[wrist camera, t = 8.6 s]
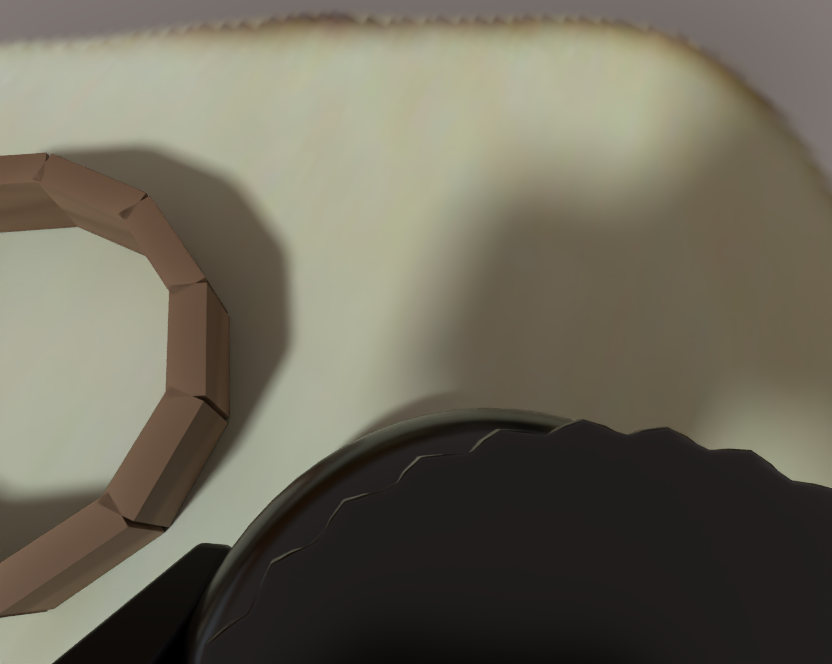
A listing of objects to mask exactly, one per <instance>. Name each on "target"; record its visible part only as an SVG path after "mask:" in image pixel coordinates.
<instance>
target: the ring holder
mask: <svg viewBox="0 0 832 664" xmlns="http://www.w3.org/2000/svg"><path fill="white" fill-rule="evenodd" d="M67 227H80V228H82V229H84V230H87V231H89V232H91V233H94V234H96V235H98V236H101V237H103V238H105V239H107V240H110V241H112V242H114V243H117V244H119V245H121V246H124V247H126V248H128V249H131V250H133V251H135V252H138V253H140V254H142V255H145V256H146V257H147V258H148V260H149V261H150V263H151V264H152V266H153V267H154V269H155V270H156V272H157V273H158V275H159V277H160V278H161V280H162V281H163V283H164V284H165V286H166V287H167V289H168V290H169V313H168V342H167V370H166V392H165V394H164V395H163V397H162V399H161V400H160V402H159V404H158V405H157V407H156V409H155V410H154V412H153V413H152V415H151V417H150V418H149V420H148V422H147V423H146V425H145V426H144V428H143V430H142V431H141V433H140V435H139V436H138V438H137V440H136V441H135V443H134V444H133V446H132V448H131V449H130V451H129V453H128V454H127V456H126V457H125V459H124V461H123V462H122V464H121V466H120V467H119V469H118V471H117V472H116V474H115V475H114V477H113V479H112V480H111V482H110V484H109V485H108V487H107V488H106V490H105V492H104V493H103V495H102V497H100V498H98V499H97V500H95V501H94V502H92V503H91V504H89V505H88V506H86V507H85V508H83V509H82V510H80V511H79V512H77V513H76V514H74V515H73V516H71V517H69V518H68V519H66V520H65V521H63V522H62V523H60V524H59V525H57V526H56V527H54V528H53V529H51V530H50V531H48V532H47V533H45V534H43V535H42V536H40V537H39V538H37V539H36V540H34V541H33V542H31V543H30V544H28V545H27V546H25V547H24V548H22V549H21V550H19V551H17V552H16V553H14V554H13V555H11V556H10V557H8V558H7V559H5V560H4V561H2V562H1V563H0V618H1V617H8V616H16V615H23V614H31V613H39V612H46V611H47V610H48V609H54V608H56V607H57V606H59V605H60V604H61V603H63V602H64V601H66V600H67V599H69V598H70V597H72V596H73V595H75V594H76V593H77V592H79V591H80V590H82V589H83V588H85V587H86V586H88V585H89V584H91V583H92V582H93V581H95V580H96V579H98V578H99V577H101V576H102V575H104V574H105V573H107V572H108V571H109V570H111V569H112V568H114V567H115V566H117V565H118V564H120V563H121V562H122V561H124V560H125V559H127V558H128V557H130V556H131V555H133V554H134V553H136V552H137V551H138V550H140V549H141V548H143V547H144V546H146V545H147V544H149V543H150V542H152V541H153V540H154V539H156V538H157V537H159V536H160V535H162V534H163V533H165V532H164V531H163V529H162V527H161V526H164V527H170V525H171V523H172V522H173V520H174V518H175V516H176V514H177V513H178V511H179V509H180V507H181V506H182V504H183V502H184V500H185V498H186V497H187V495H188V493H189V491H190V489H191V488H192V486H193V484H194V482H195V481H196V479H197V477H198V475H199V473H200V472H201V470H202V468H203V466H204V465H205V463H206V461H207V459H208V457H209V456H210V454H211V452H212V450H213V449H214V447H215V445H216V443H217V441H218V440H219V438H220V436H221V434H222V433H223V431H224V429H225V427H226V425H227V424H228V422H227V421H225V420H224V419H223V418H226V417H229V316H228V315H227V313H228V312H227V311H226V309H225V308H224V306H223V304H222V303H221V301H220V300H219V298H218V297H217V295H216V293H215V292H214V290H213V289H212V287H211V286H210V284H209V282H208V281H207V279H206V278H205V276H204V275H203V273H202V272H201V270H200V269H199V267H198V266H197V264H196V263H195V262H194V260H193V259H192V257H191V256H190V254H189V253H188V251H187V250H186V248H185V247H184V245H183V244H182V242H181V241H180V240H179V238H178V237H177V235H176V234H175V232H174V231H173V229H172V228H171V226H170V225H169V223H168V222H167V220H166V219H165V218H164V216H163V215H162V213H161V212H160V210H159V209H158V207H157V206H156V204H155V203H154V201H153V200H152V198H151V197H150V196H149V197H148V195H147V194H146V193H145V192H143V191H140V190H138V189H135V188H133V187H131V186H128V185H126V184H123V183H121V182H119V181H116V180H114V179H111V178H109V177H107V176H104V175H102V174H99V173H97V172H95V171H92V170H90V169H87V168H85V167H83V166H80V165H78V164H75V163H73V162H71V161H68V160H66V159H63V158H61V157H59V156H56V155H54V154H51V156H50V157H49V155H48V154H47V153H37V154H22V155H6V156H0V232H13V231H26V230H40V229H53V228H67Z"/></svg>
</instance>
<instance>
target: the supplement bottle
mask: <svg viewBox="0 0 832 664" xmlns="http://www.w3.org/2000/svg"><path fill="white" fill-rule="evenodd" d="M173 664H832V488H829V487H825V486H821V485H817V484H813V483H806V482H799V481H792V480H790V479H789V478H788V477H786V476H785V475H783V474H782V473H780V472H779V471H778V470H777V469H776V468H775V467H774V466H773V465H772V464H771V463H769V462H768V461H766V460H765V459H763V458H762V457H761V456H759V455H758V454H756V453H755V452H753V451H752V450H744V449H717V450H709V449H706V448H704V447H702V446H700V445H698V444H696V443H695V442H694V441H692V440H691V439H690V438H688V437H687V436H685V435H683V434H680V433H678V432H676V431H674V430H672V429H670V428H668V427H656V428H650V429H644V430H638V431H635V432H633V433H631V434H629V435H626V434H623V433H619V432H616V431H614V430H612V429H610V428H608V427H606V426H604V425H601V424H597V423H594V422H591V421H587V420H584V419H579V420H572V419H568V418H564V417H559V416H555V415H550V414H546V413H541V412H534V411H526V410H518V409H499V408H478V409H463V410H452V411H446V412H440V413H434V414H428V415H424V416H420V417H416V418H413V419H409V420H405V421H401V422H398V423H395V424H393V425H390V426H387V427H385V428H382V429H379V430H377V431H374V432H372V433H370V434H367V435H365V436H363V437H361V438H359V439H357V440H355V441H353V442H351V443H349V444H347V445H345V446H343V447H342V448H340V449H339V450H337V451H335V452H334V453H332V454H330V455H329V456H327V457H325V458H324V459H322V460H321V461H319V462H318V463H317V464H315V465H314V466H313V467H311V468H310V469H308V470H307V471H306V472H304V473H303V474H302V475H300V476H299V477H298V478H296V479H295V480H294V481H293V482H292V483H291V484H290V485H289V486H287V487H286V488H285V489H284V490H283V491H282V492H281V493H280V494H279V495H277V496H276V497H275V498H274V499H273V500H272V501H271V502H270V503H269V504H268V505H267V506H266V508H265V509H264V510H263V511H262V512H261V513H260V514H259V515H258V516H257V517H256V518H255V519H254V520H253V522H252V523H251V524H250V525H249V526H248V528H247V529H246V530H245V531H244V533H243V534H242V535H241V537H240V538H239V539H238V540H237V542H236V543H235V544H234V546H233V547H232V548H231V550H230V551H229V552H228V554H227V555H226V557H225V559H224V560H223V562H222V563H221V565H220V566H219V568H218V570H217V571H216V573H215V574H214V576H213V577H212V579H211V580H210V582H209V584H208V586H207V588H206V590H205V592H204V594H203V595H202V597H201V599H200V601H199V603H198V605H197V607H196V609H195V611H194V612H193V614H192V617H191V619H190V622H189V624H188V626H187V629H186V631H185V633H184V636H183V638H182V640H181V643H180V645H179V647H178V650H177V653H176V656H175V659H174V662H173Z"/></svg>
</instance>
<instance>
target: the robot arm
mask: <svg viewBox="0 0 832 664" xmlns="http://www.w3.org/2000/svg"><path fill="white" fill-rule="evenodd" d="M230 550H231V547H230V546H229V545H223V544H211V543H201V544H199V545H197V546H195V547H194V548H193V549H192V550H190V551H189V552H188V553H187V554H185V555H184V556H183V557H182V558H181V559H179V560H178V561H177V562H176V563H174V564H173V565H172V566H171V567H170V568H168V569H167V570H166V571H165V572H163V573H162V574H161V575H160V576H159V577H157V578H156V579H155V580H154V581H152V582H151V583H150V584H149V585H148V586H146V587H145V588H144V589H143V590H141V591H140V592H139V593H138V594H137V595H135V596H134V597H133V598H132V599H130V600H129V601H128V602H127V603H126V604H124V605H123V606H122V607H121V608H119V609H118V610H117V611H116V612H115V613H113V614H112V615H111V616H110V617H108V618H107V619H106V620H105V621H104V622H102V623H101V624H100V625H99V626H97V627H96V628H95V629H94V630H93V631H91V632H90V633H89V634H88V635H86V636H85V637H84V638H83V639H82V640H80V641H79V642H78V643H77V644H75V645H74V646H73V647H72V648H71V649H69V650H68V651H67V652H66V653H64V654H63V655H62V656H61V657H60V658H58V659H57V660H56V661H55V662H53V663H52V664H173V662H174V659H175V656H176V653H177V650H178V647H179V645H180V643H181V640H182V638H183V636H184V633H185V631H186V629H187V626H188V624H189V622H190V619H191V617H192V614H193V612H194V611H195V609H196V607H197V605H198V603H199V601H200V599H201V597H202V595H203V594H204V592H205V590H206V588H207V586H208V584H209V582H210V580H211V579H212V577H213V576H214V574H215V573H216V571H217V570H218V568H219V566H220V565H221V563H222V562H223V560H224V559H225V557H226V555H227V554H228V552H229V551H230Z"/></svg>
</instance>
